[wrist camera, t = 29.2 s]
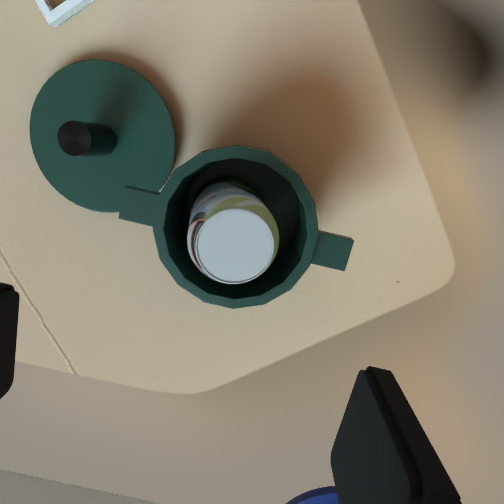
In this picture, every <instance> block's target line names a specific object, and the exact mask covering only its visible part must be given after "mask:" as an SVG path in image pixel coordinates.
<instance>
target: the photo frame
mask: <svg viewBox="0 0 504 504" xmlns="http://www.w3.org/2000/svg"><path fill="white" fill-rule="evenodd" d="M92 1H94V0H66V1H65V2H63V3H62V4H60V5H59V6H58V7H56V8H55V9H53V8H52V7H51V5H50V3H49V2H48V0H35V2H36V3H37V5H38V7H39V8H40V10H41V12H42V13H43V15H44V16H45V18H46V20H47V21H48V23H49V24H50V25H52V26H53V27H57V26H58V25H60V24H61V23H62V22H64V21H65V20H67V19H68V18H70V17H71V16H72V15H74V14H75V13H77V12H78V11H80V10H81V9H82V8H84V7H85V6H87V5H88V4H90V3H91V2H92Z"/></svg>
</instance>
